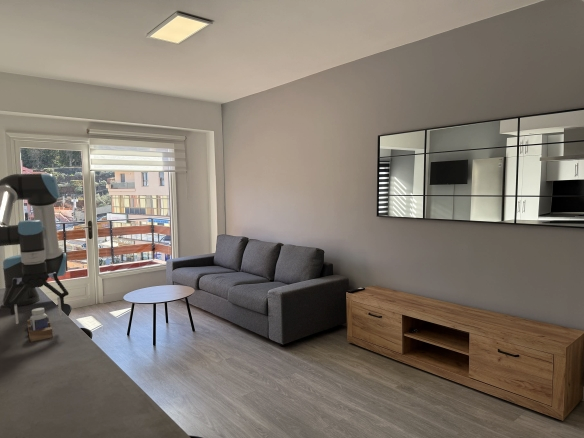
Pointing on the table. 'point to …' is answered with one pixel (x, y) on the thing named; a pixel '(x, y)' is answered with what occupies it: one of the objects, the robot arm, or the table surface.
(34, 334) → the brown wooden rack
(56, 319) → the table surface
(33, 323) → the pill bottle
